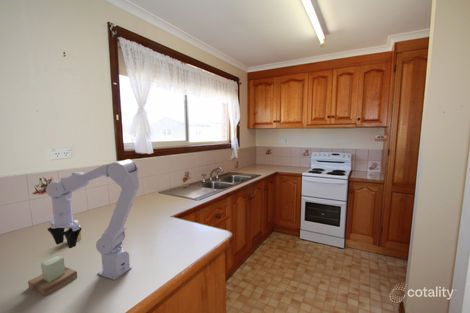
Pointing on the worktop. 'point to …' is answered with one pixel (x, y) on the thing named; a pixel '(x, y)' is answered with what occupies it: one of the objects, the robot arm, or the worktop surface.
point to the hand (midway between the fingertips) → (66, 245)
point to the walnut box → (52, 282)
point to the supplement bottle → (79, 233)
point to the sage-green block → (53, 268)
